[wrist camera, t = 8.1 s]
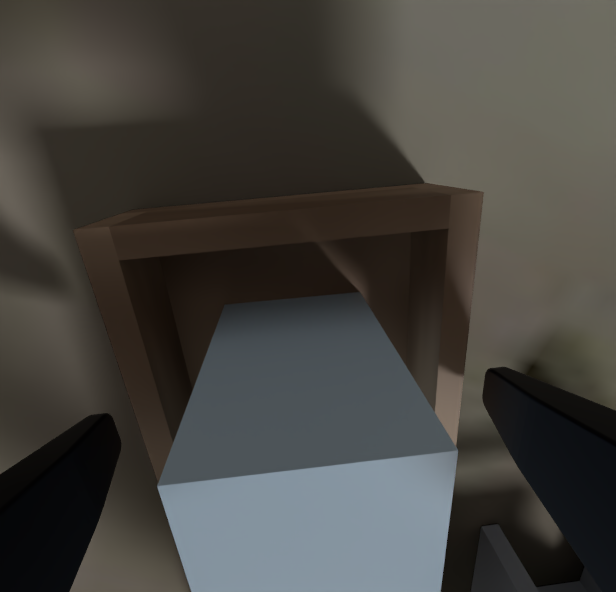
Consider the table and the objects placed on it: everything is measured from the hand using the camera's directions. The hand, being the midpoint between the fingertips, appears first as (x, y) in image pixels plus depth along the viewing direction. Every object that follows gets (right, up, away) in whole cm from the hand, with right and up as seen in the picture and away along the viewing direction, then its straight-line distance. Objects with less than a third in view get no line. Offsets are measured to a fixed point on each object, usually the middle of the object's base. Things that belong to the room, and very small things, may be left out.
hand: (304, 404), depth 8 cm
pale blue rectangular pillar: (0, -4, +4) cm, 6 cm away
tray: (0, -4, +5) cm, 7 cm away
